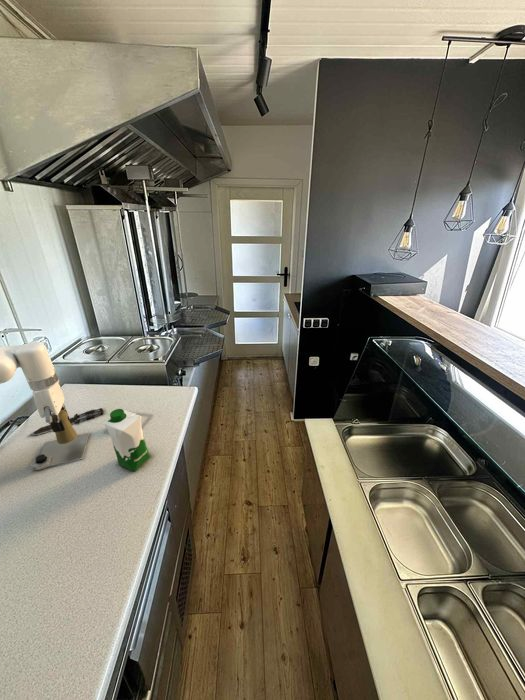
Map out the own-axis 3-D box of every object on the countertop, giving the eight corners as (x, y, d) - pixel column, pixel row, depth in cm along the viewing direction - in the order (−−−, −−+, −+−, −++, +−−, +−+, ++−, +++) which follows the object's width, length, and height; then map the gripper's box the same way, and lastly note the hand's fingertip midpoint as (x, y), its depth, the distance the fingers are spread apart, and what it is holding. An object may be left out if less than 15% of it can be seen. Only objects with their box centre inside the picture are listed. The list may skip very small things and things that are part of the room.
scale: (31, 473, 93) (28, 468, 92) (44, 444, 105) (42, 439, 104) (82, 461, 97) (80, 456, 96) (89, 434, 109) (87, 429, 108)
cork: (53, 439, 100) (42, 414, 95) (72, 429, 104) (62, 405, 100) (62, 446, 97) (51, 421, 92) (80, 435, 101) (71, 411, 97)
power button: (35, 464, 94) (34, 461, 93) (38, 458, 96) (36, 455, 95) (45, 462, 94) (43, 459, 94) (47, 456, 97) (45, 453, 96)
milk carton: (135, 448, 102) (122, 403, 94) (154, 456, 99) (143, 410, 90) (114, 466, 95) (99, 419, 86) (134, 475, 92) (120, 427, 83)
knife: (29, 439, 107) (28, 436, 107) (32, 428, 113) (31, 425, 112) (104, 417, 118) (103, 414, 118) (103, 409, 123) (102, 406, 123)
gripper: (38, 369, 96) (56, 412, 104) (18, 397, 82) (41, 445, 90) (63, 366, 99) (79, 408, 107) (49, 392, 84) (68, 439, 92)
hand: (61, 424), depth 98 cm, fingers closed on cork, 5 cm apart
